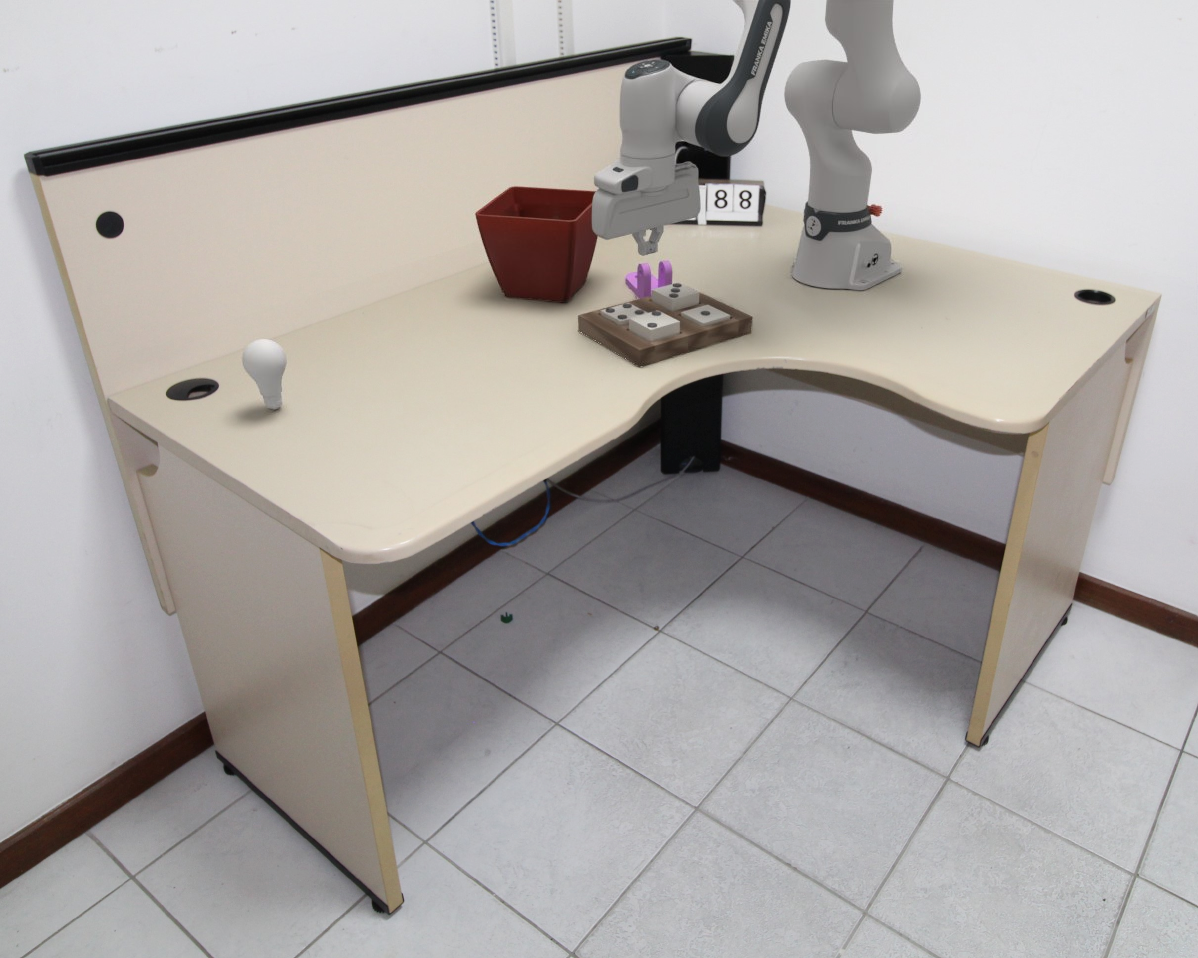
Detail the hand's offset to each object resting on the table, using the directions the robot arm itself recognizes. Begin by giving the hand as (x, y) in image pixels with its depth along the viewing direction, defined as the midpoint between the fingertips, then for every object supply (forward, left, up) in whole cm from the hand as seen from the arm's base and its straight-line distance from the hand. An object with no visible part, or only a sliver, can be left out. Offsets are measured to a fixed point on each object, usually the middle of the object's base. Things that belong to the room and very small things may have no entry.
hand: (647, 253), depth 162 cm
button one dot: (-6, +8, -13) cm, 17 cm away
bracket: (-10, -14, -13) cm, 22 cm away
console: (-1, +4, -13) cm, 14 cm away
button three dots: (-6, 0, -11) cm, 13 cm away
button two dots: (+5, +9, -11) cm, 15 cm away
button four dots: (+5, 0, -13) cm, 14 cm away
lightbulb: (+64, -7, -13) cm, 66 cm away
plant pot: (+5, -26, -13) cm, 29 cm away
